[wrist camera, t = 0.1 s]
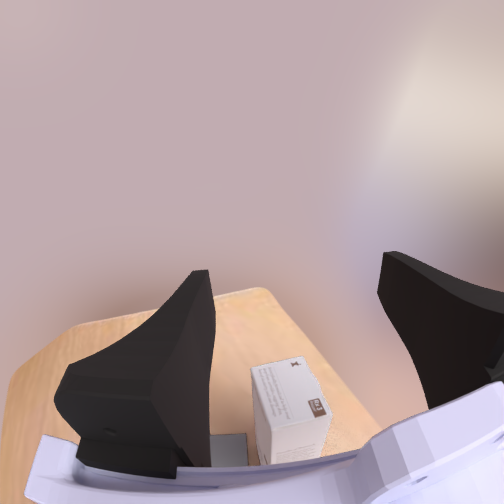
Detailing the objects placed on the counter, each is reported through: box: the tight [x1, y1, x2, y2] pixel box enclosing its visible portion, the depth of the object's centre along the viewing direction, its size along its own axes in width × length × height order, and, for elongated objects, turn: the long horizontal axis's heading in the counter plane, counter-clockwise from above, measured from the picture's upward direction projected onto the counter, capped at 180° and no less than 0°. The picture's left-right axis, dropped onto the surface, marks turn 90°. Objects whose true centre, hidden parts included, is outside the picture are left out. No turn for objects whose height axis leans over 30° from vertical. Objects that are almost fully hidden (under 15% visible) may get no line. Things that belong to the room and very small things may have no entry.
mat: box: [210, 434, 248, 467], centre depth 22 cm, size 9×8×1 cm
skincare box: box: [250, 356, 333, 465], centre depth 20 cm, size 6×4×12 cm
